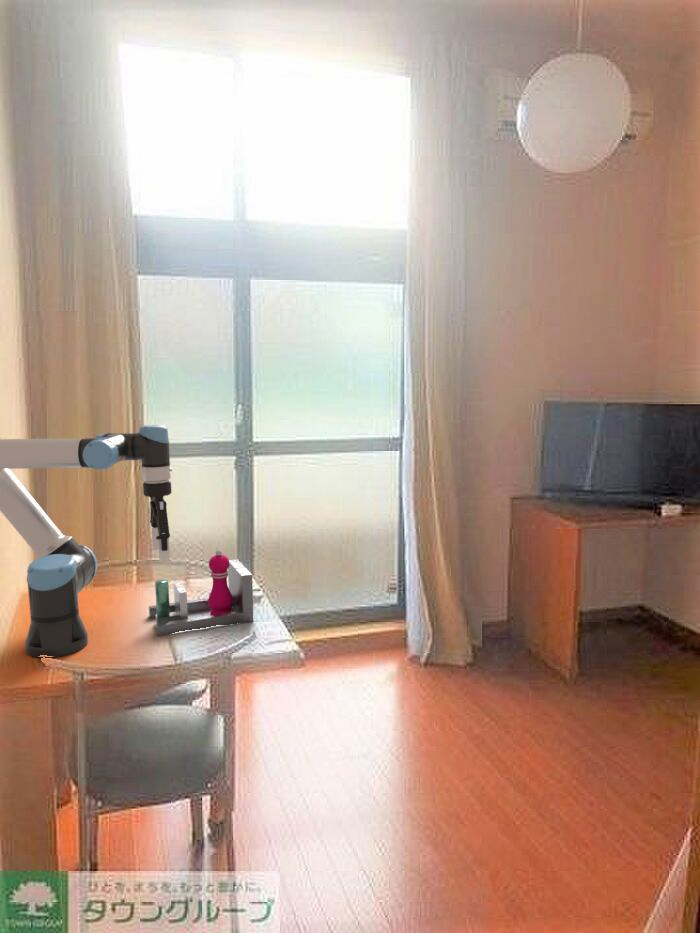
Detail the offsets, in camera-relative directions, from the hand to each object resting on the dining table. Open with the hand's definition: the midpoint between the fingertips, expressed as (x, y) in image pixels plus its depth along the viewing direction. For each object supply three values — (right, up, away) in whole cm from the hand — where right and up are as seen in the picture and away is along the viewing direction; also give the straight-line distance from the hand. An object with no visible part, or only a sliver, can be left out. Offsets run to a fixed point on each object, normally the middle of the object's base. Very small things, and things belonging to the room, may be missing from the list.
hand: (161, 555), depth 190 cm
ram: (+2, -20, +4) cm, 20 cm away
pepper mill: (+15, -19, +10) cm, 26 cm away
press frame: (+9, -19, +7) cm, 23 cm away
